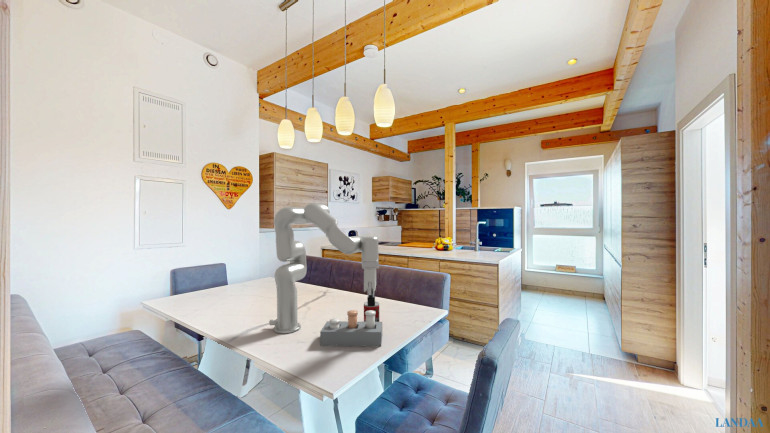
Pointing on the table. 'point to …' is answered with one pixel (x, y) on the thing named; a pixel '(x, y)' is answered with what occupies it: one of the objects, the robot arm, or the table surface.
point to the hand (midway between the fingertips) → (371, 305)
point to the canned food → (374, 308)
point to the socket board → (351, 335)
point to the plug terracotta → (352, 319)
